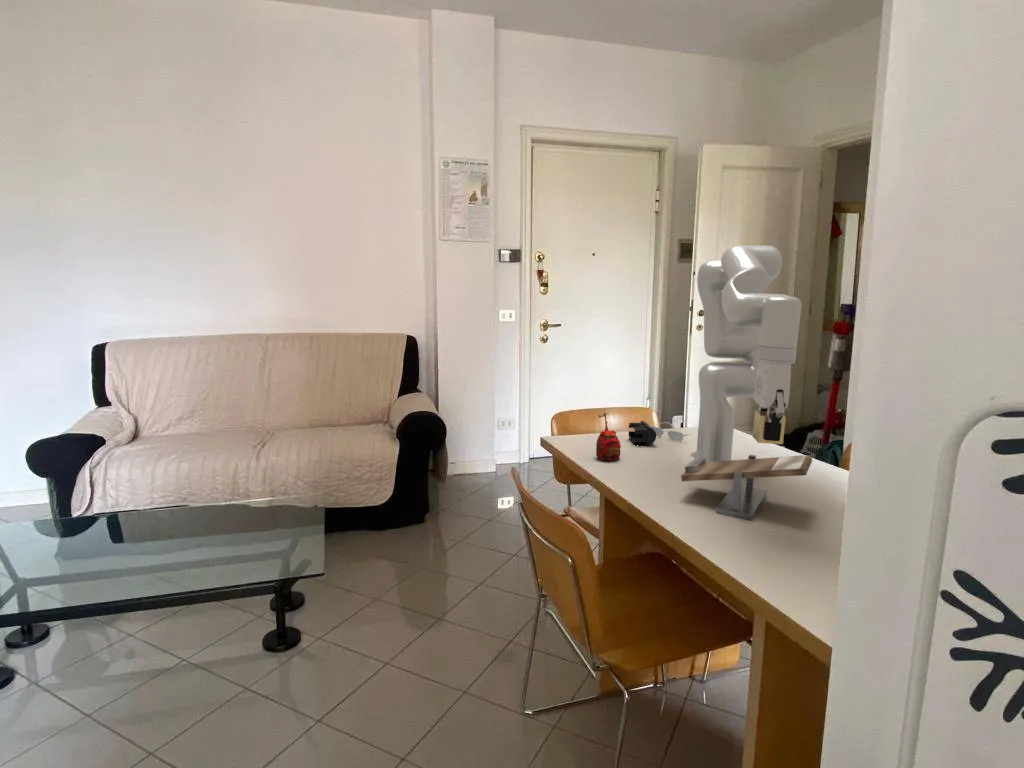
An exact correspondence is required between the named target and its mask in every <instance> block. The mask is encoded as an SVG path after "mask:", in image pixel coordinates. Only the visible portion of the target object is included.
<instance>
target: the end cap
mask: <svg viewBox="0 0 1024 768" xmlns="http://www.w3.org/2000/svg"><path fill="white" fill-rule="evenodd" d="M650 426H651V425H649V424H648V423H647V422H646V421H644V420H640V422H628V428H629V429H633V430H632V431H630V430H628V441H629V440H630V441H631V442H632V443H633V444H632V443H631V442H630V441H629V442H630V443H631V444H632V445H635V446H637V445H638V446H647V447H649V446H651V445H653V444H654V443H655V441H656V440H657V437H656V432H655V431H654V429H652V428H651V427H650ZM635 446H634V447H635Z"/></svg>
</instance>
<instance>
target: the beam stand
mask: <svg viewBox="0 0 1024 768" xmlns="http://www.w3.org/2000/svg"><path fill="white" fill-rule="evenodd" d="M747 459H757V455H755V454H749V455H748V458H747ZM743 479H744V478H743V472H738V471H735V473H734V479H733V484H732V488H730V490H729V491H728V492H727V494H726V495H725V496H724V497H723V499H722V500H721V501H720V503H719V504H718V505H717V506H716V508H715V513H716V514H720V515H725V516H730V517H735V518H740V519H743V520H749V521H753V519H754V518H755V515H756V514H757V513H758V511H759V509H760V508H761V505H762V504H763V502H764V500H765V499H766V497H767V496H768V490H765V489H760V488H754V486H755V478H745V480H746V482H745V483H746V484H745V486H743Z"/></svg>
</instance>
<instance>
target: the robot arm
mask: <svg viewBox="0 0 1024 768" xmlns="http://www.w3.org/2000/svg"><path fill="white" fill-rule="evenodd" d="M782 265H783V258H782V255H781V252H780V251H779V249H778V248H776V247H775V246H773V245H764V244H763V245H758V244H756V245H755V244H753V245H752V244H739V245H734V246H731V247H729V248H727V249H726V250H725V251H724V252H723V254H722V256H721V259H712V260H707V261H705V262H703V263H702V264H700V267H699V268H698V271H697V280H696V282H697V290H698V295H699V298H700V301H701V304H702V305H701V306H702V308H703V344H704V351H705V354H706V356H709V357H711V358H717V359H739V360H741V359H742V360H743V362H719V361H717V362H709V363H706V364H704V365H703V366H702V367H701V368H700V370H699V371H698V388H699V416H698V427H697V428H698V429H697V431H698V432H697V441H696V442H697V444H696V450H695V452H694V451H692V452H691V453H690V457H692V458H694V459H705V462H715V461H730V460H732V454H733V443H734V427H735V417H736V415H735V414H736V413H735V410H734V408H733V406H732V405H731V404H730V403H729V401H728V398H734V397H735V398H736V397H737V398H753V401H754V402H755V403H756V404H757V405H758V406H759V407H758V411H767V422H765V430H764V440H767V441H779V440H780V435H781V425H782V417H783V415H784V414H785V411H786V409H787V408H788V406H789V400H790V392H791V391H790V390H791V378H792V377H791V374H792V367H791V366H792V364H793V365H794V364H795V363H796V357H797V348H798V347H797V346H798V340H799V339H798V338H799V331H800V330H799V329H800V321H801V312H802V301H801V299H799V298H798V297H797V296H789V295H788V294H784V293H763V292H764V291H765V290H766V288H767V287H768V285H769V284H770V283H772V282H773V281H774V280H776V278H777V277H778V276H779V274H780V273H781V269H782ZM772 411H774V412H773V414H772V416H771V412H772Z"/></svg>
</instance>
